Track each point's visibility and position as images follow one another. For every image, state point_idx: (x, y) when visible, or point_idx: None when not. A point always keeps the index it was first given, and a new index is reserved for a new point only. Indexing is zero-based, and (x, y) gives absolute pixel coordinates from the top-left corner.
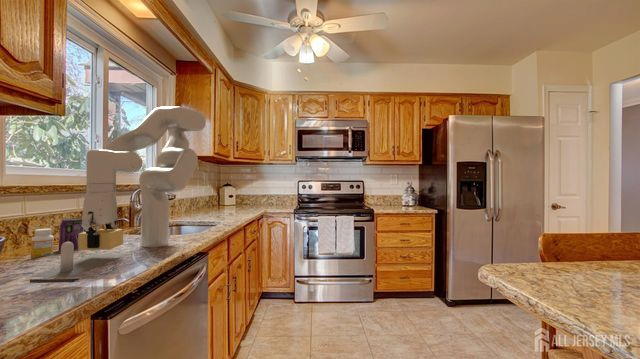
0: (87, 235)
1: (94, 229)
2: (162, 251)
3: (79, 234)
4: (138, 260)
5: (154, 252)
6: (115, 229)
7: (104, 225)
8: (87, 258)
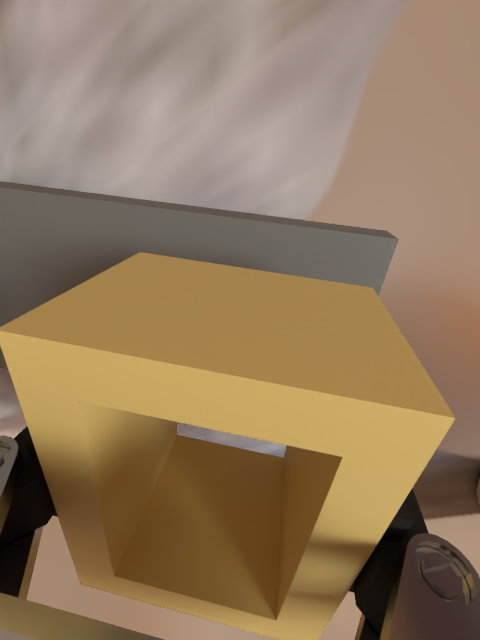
0: (26, 430)
1: (416, 433)
2: (459, 510)
3: (14, 337)
4: (272, 455)
5: (449, 487)
6: (305, 614)
7: (388, 634)
8: (242, 259)
